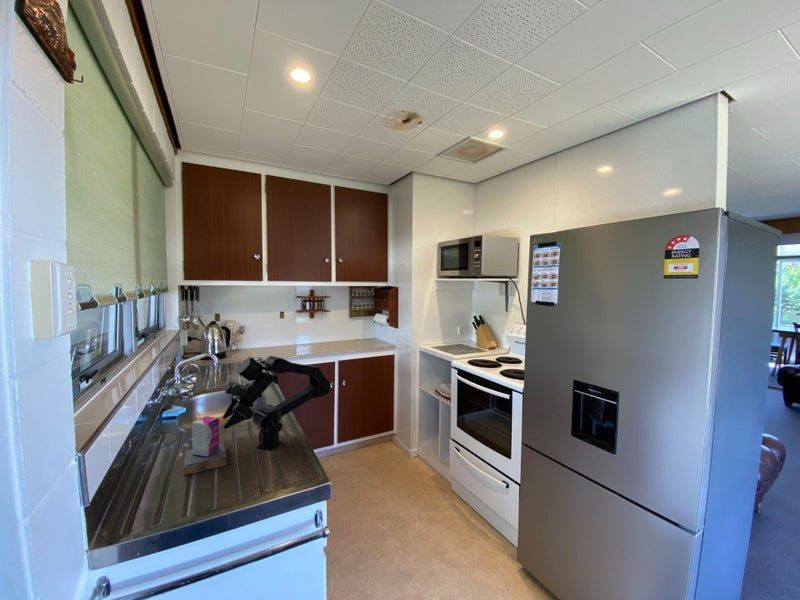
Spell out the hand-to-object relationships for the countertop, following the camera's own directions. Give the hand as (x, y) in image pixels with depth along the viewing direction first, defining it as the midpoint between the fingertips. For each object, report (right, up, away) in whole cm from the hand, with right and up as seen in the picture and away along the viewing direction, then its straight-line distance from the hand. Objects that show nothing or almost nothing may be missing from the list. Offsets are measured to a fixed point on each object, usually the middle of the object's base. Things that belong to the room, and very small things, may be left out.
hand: (223, 423), depth 115 cm
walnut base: (-5, -12, -2) cm, 13 cm away
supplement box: (-5, -9, -2) cm, 11 cm away
